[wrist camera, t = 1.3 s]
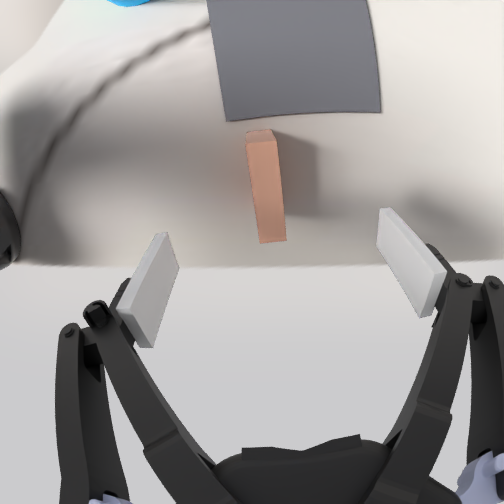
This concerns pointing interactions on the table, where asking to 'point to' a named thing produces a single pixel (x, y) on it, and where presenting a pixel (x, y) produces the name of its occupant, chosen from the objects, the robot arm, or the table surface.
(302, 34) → the mat
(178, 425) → the robot arm
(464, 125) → the table surface
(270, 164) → the block
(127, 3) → the mug
